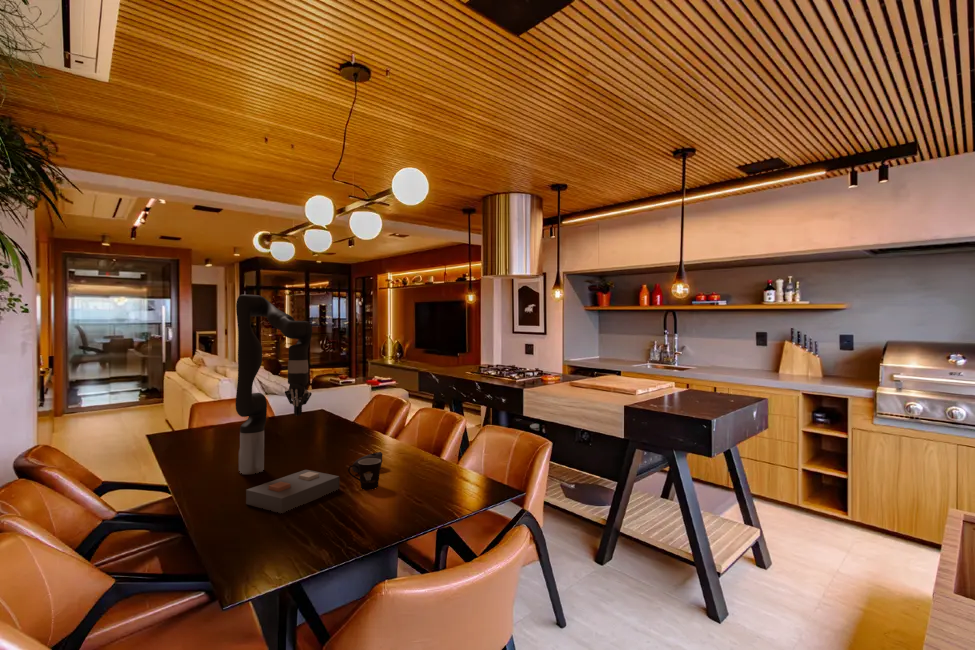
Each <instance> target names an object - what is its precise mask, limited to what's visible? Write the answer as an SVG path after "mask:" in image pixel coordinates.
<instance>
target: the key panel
mask: <svg viewBox="0 0 975 650" xmlns="http://www.w3.org/2000/svg"><path fill="white" fill-rule="evenodd" d="M307 472H314V473H319V477H318V478H315V479H312V480H310V481H306V480H301V479H299V475H301V474H304V473H307ZM278 482H285V483H290V484H291V486H290V488H288V489H285V490H283V491H280V492H276V491H272V490H269V485H272V484H275V483H278ZM338 489H339V490H340V476H339V475H334V474H331V473H330V474H329V473H325V472H319V471H315V470H309V469H304V470H301V471H298V472H294V473H291V474H288V475H286V476H283V477H280V478H276V479H274V480H272V481H268V482H264V483H262V484H260V485H256V486H253V487H250V488H248V489H247V488H246V489H245V504H246V505H248V506H252V507H255V508H259V509H262V508H263V510H267V511H270V510H271V512H274V513H277V512H278V513H277V514H281V513H282V514H284V513H287V512H289V511H291V509H292V510H293V508H294V509H296V508H298V506H299V507H301V506H303V504H304V505H306V504H308V503H310V502H312V501H315V500H318V499H320V498H322V496H323V497H325V496H327V495H329V493H330V494H331V492H332V493H334V492H337V491H339V490H338ZM336 490H337V491H336ZM333 491H334V492H333ZM326 494H327V495H326ZM324 495H325V496H324ZM300 505H301V506H300ZM295 507H296V508H295ZM288 510H289V511H288ZM286 511H287V512H286Z"/></svg>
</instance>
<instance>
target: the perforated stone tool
mask: <svg viewBox="0 0 975 650" xmlns="http://www.w3.org/2000/svg"><path fill="white" fill-rule="evenodd" d="M368 458H376V459H380V460H381V465H380V469H381V468H382V464H383V452H382V451H379V452H373V453H370V454H366V455H364V456H362V457H359V458H358V459H356V460H355V461H354V462H353V463H352V465H357V466H358V461H360V460H362V459H368ZM351 468H352V471H353V472H354V473H355V474H356V473H358V474H359V470H358V469H357V468H356V467H354V466H353V467H351Z"/></svg>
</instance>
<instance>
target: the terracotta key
mask: <svg viewBox="0 0 975 650" xmlns="http://www.w3.org/2000/svg"><path fill="white" fill-rule="evenodd" d="M290 486H291V484H290V483H285V482H278V483H275V484H272V485H269V490H272V491H276V492H280V491H283V490H285V489H288V488H290Z"/></svg>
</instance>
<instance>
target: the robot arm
mask: <svg viewBox="0 0 975 650" xmlns="http://www.w3.org/2000/svg"><path fill="white" fill-rule="evenodd" d="M235 305H236V306H235V308H236V309H235V312H236V321H237V322H236V323H237V335H238V336H237V338H238V339H237V341H238V342H237V385H236V394H235V410H236V412H237V414H238V416H240V417H242V418H245V417H246V418H247V419H246V421H244V422H243V423H242V424H241V425H239V426H240V427H239V449H238V472H239V471H240V472H239V474H241V473H242V474H241V475H255V473H256V474H259V472H260V473H262V472H264V471H263V470H265V426H266V423H267V411H268V401H267V398H266V396H265V395H264V394H263V393H261V392H253V384H254V381H255V378H256V377H257V374H258V373H259V371H260V368H261V367H262V363H263V347H262V344H261V342H260V339H258V337H257V335H256V334H255V332H254V330H253V328H252V323H251V317H254V318H255V317H256V318H257V317H263V318H267V321H268V323H269V325H271V326H272V327H273V328H276V329H277V330H279V331H280V332H281V333H282V335H283V336H284V337H285V338H288V339H293V340H295V339H298V340H297V342H296V343H295V344H292V345H290V346H289V347H288V362H287V384H288V385H289V387H288V389H287V390H285V391H284V395H285V397H286V399H287V400H288V403H289V404H290V405H292V406H293V414H294V416H296V417H299V416H302V414H303V406H304V405H307V403H308V401H309V400H310V398H311V396H312V392H311V391H310V392H309V391H308V386H307V385H308V383H309V361H308V359H309V358H308V355H309V354H308V350H309V346H310V343H311V339H312V335H313V326H312V325H311V323H310V322H309V321H307V320H295V319H294V317H293V316H292V315H290V314H288V313H286V312H284V311H282V310H280V309H279V308H277V307H276V306H275V305H274V304H272V303H271V302H270V301H269V300H268V299H266V298H265V297H264V296H262V295H258V294H240V295H239V296H238V297H237V299H236V303H235Z"/></svg>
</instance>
